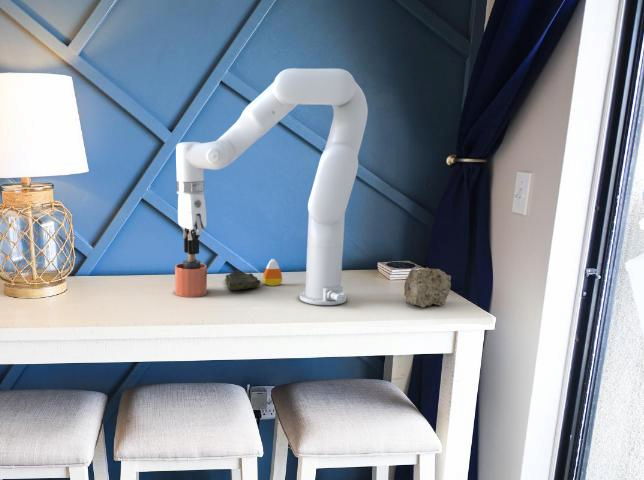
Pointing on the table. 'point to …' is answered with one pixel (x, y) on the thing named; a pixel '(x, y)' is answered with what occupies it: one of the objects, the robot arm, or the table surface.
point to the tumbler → (190, 281)
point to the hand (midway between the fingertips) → (191, 252)
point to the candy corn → (272, 274)
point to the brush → (191, 261)
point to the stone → (241, 280)
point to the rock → (427, 287)
